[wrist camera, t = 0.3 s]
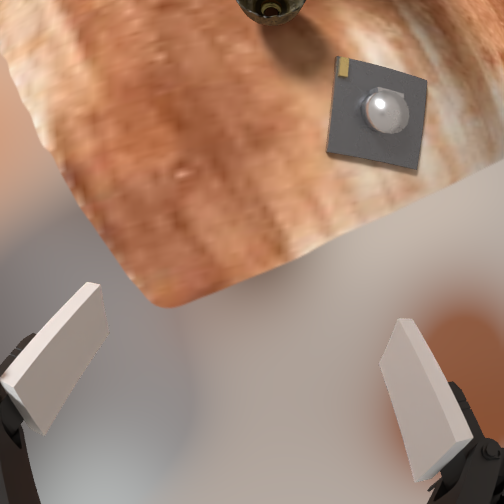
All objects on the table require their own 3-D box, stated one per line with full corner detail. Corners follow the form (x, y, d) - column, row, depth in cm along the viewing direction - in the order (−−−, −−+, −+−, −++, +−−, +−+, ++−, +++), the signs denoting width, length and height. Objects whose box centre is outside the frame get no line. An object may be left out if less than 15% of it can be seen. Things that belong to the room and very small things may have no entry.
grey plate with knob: (335, 57, 30) (342, 50, 26) (423, 81, 29) (438, 78, 26) (325, 151, 34) (331, 153, 31) (413, 168, 34) (427, 173, 30)
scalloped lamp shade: (307, -4, 26) (314, -32, 19) (296, 43, 29) (302, 22, 22) (247, -14, 26) (240, -44, 19) (234, 32, 29) (224, 10, 22)
